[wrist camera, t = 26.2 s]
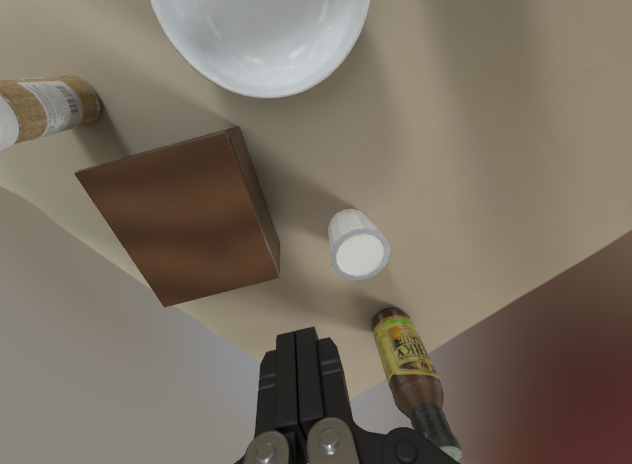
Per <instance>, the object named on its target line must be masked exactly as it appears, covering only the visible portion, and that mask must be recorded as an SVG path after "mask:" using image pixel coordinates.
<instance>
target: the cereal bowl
mask: <svg viewBox="0 0 632 464" xmlns="http://www.w3.org/2000/svg"><path fill="white" fill-rule="evenodd" d="M150 3H151V6H152V8H153V11H154V13H155V15H156V18H157V20H158V22H159V24H160V26H161V28H162V30H163V32H164V33H165V35H166V36H167V38H168V39H169V41H170V42H171V44H172V45H173V47H174V48H175V49H176V51H177V52H178V53H179V54H180V55H181V56H182V57H183V59H184V60H185V61H186V62H187V63H188V64H189V65H190V66H191V67H192V68H194V69H195V70H196V71H197V72H198V73H199V74H201V75H202V76H203V77H205V78H206V79H208V80H209V81H211V82H212V83H214V84H216V85H217V86H219V87H221V88H223V89H226V90H228V91H230V92H233V93H236V94H239V95H242V96H247V97H252V98H262V99H268V98H270V99H271V98H282V97H287V96H292V95H295V94H298V93H301V92H304V91H306V90H308V89H310V88H312V87H314V86H315V85H317V84H319V83H320V82H321V81H323V80H324V79H325V78H327V77H328V76H329V75H330V74H331V73H332V72H333V71H334V70H336V69H337V68H338V67H339V65H340V64H341V63H342V62H343V61H344V59H345V58H346V57H347V55H348V54H349V52H350V51H351V49H352V48H353V46H354V44H355V42H356V41H357V39H358V37H359V35H360V32H361V30H362V28H363V25H364V23H365V20H366V17H367V13H368V10H369V6H370V0H150Z"/></svg>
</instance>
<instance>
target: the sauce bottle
mask: <svg viewBox="0 0 632 464" xmlns="http://www.w3.org/2000/svg"><path fill="white" fill-rule="evenodd" d="M372 329H373V332H374V338H375V342H376V345H377V348H378V351H379V355H380V358H381V361H382V364H383V368H384V371H385V374H386V377H387V380H388V384H389V387H390V389H391V391H392V394H393V398H394V401H395V404H396V406H397V407H398V409H399V410H400V411H401V412H402V413H404V414H405V415H406V416H407V417H408V418H410V419H411V423H412V426H413V428H414V430H416V431H417V432H419V433H420V434H422V435H423V436H424V437H426V438H427V439H428V440H430V441H431V442H432V443H434V444H435V445H436V446H438V447H439V448H440V449H442V450H443V451H444V452H445V453H447V454H448V455H449V456H451V457H452V458H453V459H455V460H456V461H457V462H458V460H459V459H460V458H461V456H462V451H461V448H460V445H459V443H458V441H457V439H456V438H455V437H454V435H453V434H452V432H451V429H450V427H449V424H448V422H447V420H446V417H445V415H444V412H443V411H442V406H443V399H444V393H443V388H442V386H441V383H440V380H439V377H438V375H437V373H436V371H435V369H434V367H433V365H432V363H431V360H430V358H429V356H428V354H427V352H426V350H425V348H424V346H423V344H422V342H421V339H420V337H419V335H418V333H417V331H416V329H415V327H414V325H413V323H412V321H411V320H410V318H409V316H408V315H407V314H406V313H404V312H403V311H401V310H399V309H386V310H384V311H382V312H380V313H379V314H378V315H377V316H375V317H374V319H373V322H372Z"/></svg>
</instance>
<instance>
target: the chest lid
mask: <svg viewBox="0 0 632 464" xmlns="http://www.w3.org/2000/svg"><path fill="white" fill-rule="evenodd" d="M74 174H75V175H76V177H77V178H78V180H79V181H80V183H81V184H82V186H83V187H84V189H85V190H86V192H87V193H88V195H89V196H90V198H91V199H92V201H93V202H94V204H95V205H96V207H97V208H98V209H99V211H100V212H101V214H102V215H103V217H104V218H105V220H106V221H107V223H108V224H109V226H110V227H111V229H112V230H113V232H114V233H115V235H116V236H117V238H118V239H119V241H120V242H121V244H122V245H123V247H124V248H125V250H126V251H127V253H128V254H129V256H130V257H131V259H132V260H133V262H134V263H135V264H136V266H137V267H138V269H139V270H140V272H141V273H142V275H143V276H144V278H145V279H146V281H147V282H148V284H149V285H150V287H151V288H152V290H153V291H154V293H155V294H156V296H157V297H158V299H159V300H160V302H161V303H162V305H163V306H164V307H167V306H171V305H175V304H179V303H183V302H187V301H191V300H195V299H199V298H202V297H206V296H210V295H214V294H218V293H222V292H226V291H230V290H233V289H237V288H241V287H245V286H249V285H253V284H257V283H261V282H264V281H268V280H272V279H276V278H280V273H279V270H278V268H277V265H276V262H275V260H274V257H273V254H272V252H271V249H270V247H269V244H268V241H267V239H266V236H265V233H264V231H263V228H262V225H261V223H260V220H259V218H258V215H257V212H256V210H255V207H254V204H253V202H252V199H251V197H250V194H249V191H248V189H247V186H246V183H245V181H244V178H243V175H242V173H241V170H240V168H239V165H238V162H237V160H236V157H235V154H234V152H233V149H232V146H231V144H230V141H229V139H228V136H227V133H226V131H222V132H218V133H214V134H211V135H207V136H203V137H200V138H196V139H192V140H189V141H185V142H181V143H178V144H174V145H170V146H167V147H163V148H159V149H156V150H152V151H148V152H145V153H141V154H137V155H134V156H130V157H126V158H123V159H119V160H115V161H112V162H108V163H104V164H101V165H97V166H93V167H90V168H86V169H82V170H79V171H77V172H76V173H74Z"/></svg>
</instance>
